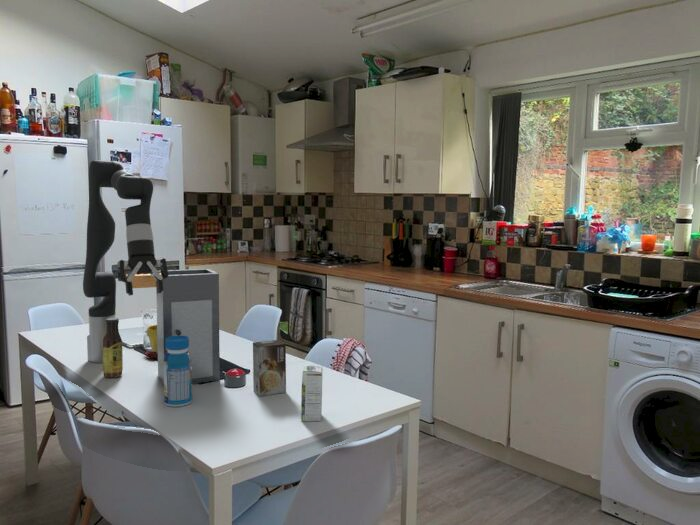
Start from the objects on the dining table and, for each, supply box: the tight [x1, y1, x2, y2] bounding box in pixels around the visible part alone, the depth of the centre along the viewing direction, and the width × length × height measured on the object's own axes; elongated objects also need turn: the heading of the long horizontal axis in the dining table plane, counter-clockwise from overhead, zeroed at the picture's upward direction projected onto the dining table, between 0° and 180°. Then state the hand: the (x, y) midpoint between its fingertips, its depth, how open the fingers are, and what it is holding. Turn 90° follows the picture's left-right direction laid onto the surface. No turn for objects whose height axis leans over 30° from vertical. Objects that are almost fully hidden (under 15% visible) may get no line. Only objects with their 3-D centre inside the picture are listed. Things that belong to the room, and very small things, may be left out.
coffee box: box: [252, 339, 287, 397], centre depth 186 cm, size 9×6×16 cm
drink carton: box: [300, 365, 324, 422], centre depth 165 cm, size 6×6×14 cm
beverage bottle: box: [163, 335, 193, 408], centre depth 175 cm, size 8×8×20 cm
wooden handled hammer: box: [125, 273, 205, 289], centre depth 193 cm, size 26×9×4 cm, turn 116°
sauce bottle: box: [102, 317, 124, 379], centre depth 199 cm, size 6×6×20 cm
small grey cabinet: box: [155, 268, 221, 386], centre depth 197 cm, size 18×16×36 cm
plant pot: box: [146, 324, 158, 352], centre depth 232 cm, size 10×10×10 cm
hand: (145, 294), depth 174 cm, fingers open, 8 cm apart
